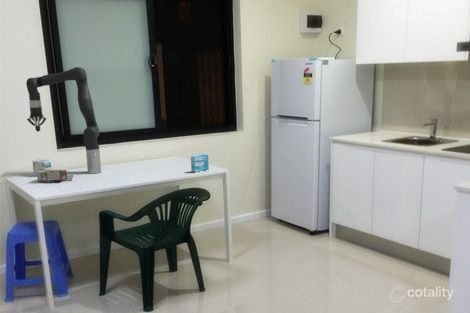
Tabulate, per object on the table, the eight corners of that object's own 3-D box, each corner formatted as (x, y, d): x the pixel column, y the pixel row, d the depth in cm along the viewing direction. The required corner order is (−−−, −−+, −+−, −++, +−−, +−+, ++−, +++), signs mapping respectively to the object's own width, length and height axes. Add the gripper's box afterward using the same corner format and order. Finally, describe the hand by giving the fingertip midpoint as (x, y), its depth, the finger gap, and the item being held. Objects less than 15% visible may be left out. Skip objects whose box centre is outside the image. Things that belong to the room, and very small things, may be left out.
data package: (194, 173, 307) (193, 156, 305) (191, 172, 311) (190, 155, 309) (208, 170, 314) (208, 154, 312) (205, 169, 318) (205, 153, 316)
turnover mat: (73, 175, 306) (73, 174, 306) (71, 180, 291) (71, 179, 291) (48, 177, 302) (48, 176, 302) (45, 182, 287) (45, 181, 287)
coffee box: (37, 181, 287) (59, 182, 285) (36, 171, 286) (59, 172, 284) (45, 178, 296) (67, 179, 294) (44, 169, 295) (66, 169, 293)
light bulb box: (52, 174, 312) (51, 159, 310) (46, 176, 305) (44, 161, 303) (40, 173, 315) (38, 159, 313) (33, 176, 308) (31, 161, 306)
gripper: (46, 106, 310) (48, 130, 313) (26, 106, 307) (28, 131, 310) (45, 106, 303) (47, 131, 306) (24, 107, 299) (27, 132, 303)
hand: (38, 131), depth 308 cm, fingers closed
